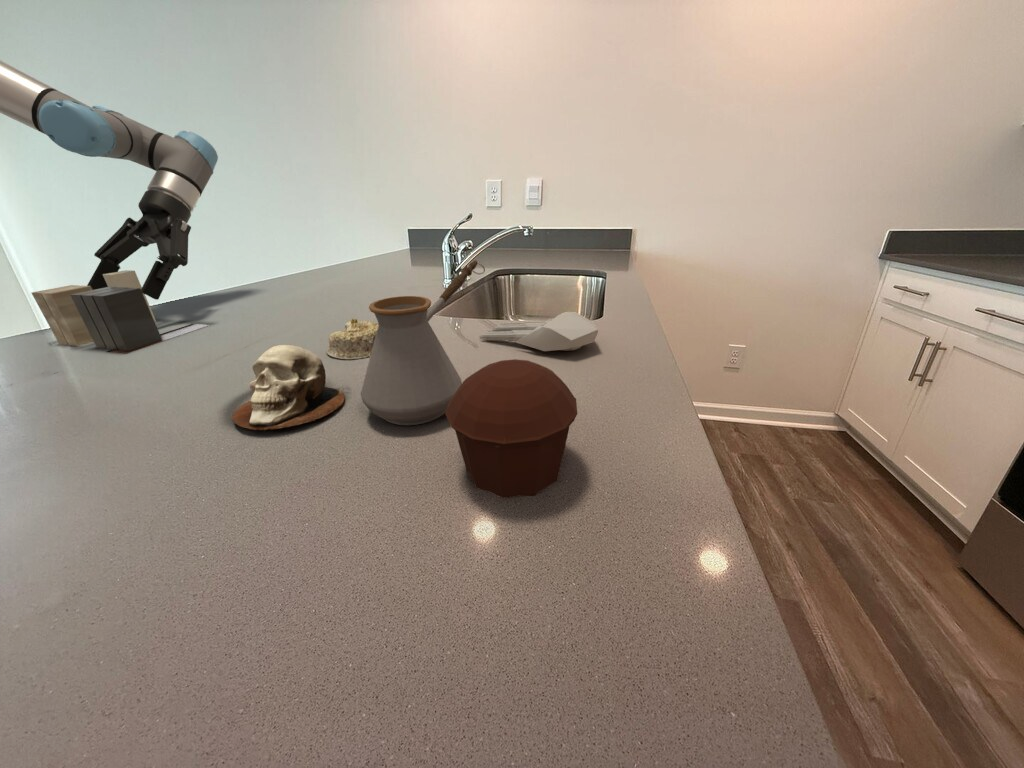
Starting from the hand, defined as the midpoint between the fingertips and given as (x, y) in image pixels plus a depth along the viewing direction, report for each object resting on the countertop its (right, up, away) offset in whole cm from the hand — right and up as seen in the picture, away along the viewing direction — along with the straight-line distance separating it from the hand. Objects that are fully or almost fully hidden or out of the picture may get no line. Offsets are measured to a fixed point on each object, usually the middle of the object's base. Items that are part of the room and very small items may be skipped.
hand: (121, 294), depth 75 cm
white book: (+1, -5, +4) cm, 6 cm away
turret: (+77, -10, -7) cm, 78 cm away
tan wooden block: (-1, -8, 0) cm, 8 cm away
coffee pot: (+63, -18, -23) cm, 69 cm away
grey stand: (+9, -9, -3) cm, 13 cm away
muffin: (+73, -25, -37) cm, 85 cm away
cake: (+47, -11, -7) cm, 49 cm away
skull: (+46, -20, -26) cm, 56 cm away
